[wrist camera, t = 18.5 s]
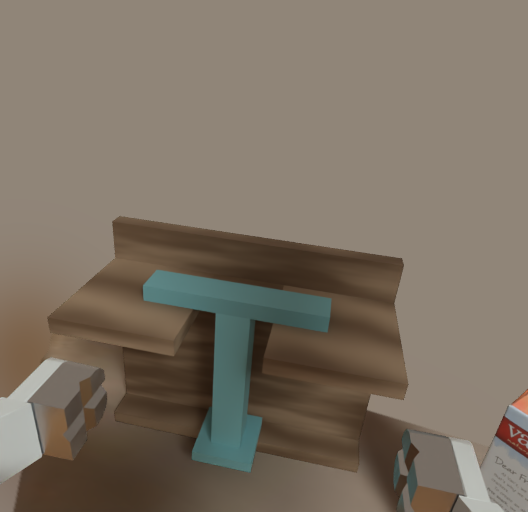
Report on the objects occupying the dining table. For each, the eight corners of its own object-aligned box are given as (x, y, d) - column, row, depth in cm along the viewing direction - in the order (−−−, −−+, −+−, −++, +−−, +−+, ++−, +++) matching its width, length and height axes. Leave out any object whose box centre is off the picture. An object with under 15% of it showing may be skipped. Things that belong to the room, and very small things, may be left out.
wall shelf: (357, 548, 39) (422, 339, 28) (76, 482, 43) (39, 273, 32) (356, 439, 50) (402, 258, 40) (132, 393, 54) (119, 216, 43)
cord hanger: (300, 483, 41) (329, 328, 33) (144, 449, 43) (134, 294, 35) (306, 434, 47) (332, 289, 38) (167, 405, 49) (163, 262, 40)
